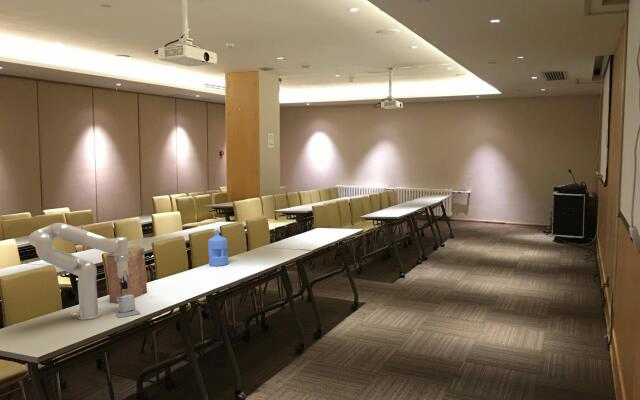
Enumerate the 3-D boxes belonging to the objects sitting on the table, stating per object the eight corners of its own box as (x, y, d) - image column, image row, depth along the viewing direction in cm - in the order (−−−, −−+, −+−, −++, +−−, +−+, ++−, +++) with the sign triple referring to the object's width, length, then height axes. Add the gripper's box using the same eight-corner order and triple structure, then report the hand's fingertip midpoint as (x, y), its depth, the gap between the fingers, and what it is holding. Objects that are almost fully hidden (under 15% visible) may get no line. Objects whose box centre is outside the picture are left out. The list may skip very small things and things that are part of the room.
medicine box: (131, 309, 305) (130, 294, 305) (135, 309, 302) (134, 294, 302) (119, 312, 299) (117, 297, 299) (123, 312, 296) (121, 297, 296)
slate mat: (118, 318, 288) (118, 317, 288) (115, 314, 294) (115, 314, 294) (140, 314, 294) (140, 313, 294) (137, 310, 301) (137, 310, 301)
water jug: (205, 264, 424) (203, 230, 421) (221, 261, 434) (220, 228, 432) (215, 267, 412) (213, 232, 410) (232, 264, 423) (230, 230, 420)
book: (135, 292, 344) (132, 247, 341) (147, 292, 341) (144, 247, 339) (109, 302, 320) (106, 254, 317) (122, 303, 317) (119, 255, 315)
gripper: (112, 257, 309) (115, 287, 311) (117, 261, 296) (120, 292, 298) (126, 255, 313) (128, 285, 315) (131, 259, 300) (134, 290, 302)
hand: (124, 288), depth 306 cm, fingers closed
